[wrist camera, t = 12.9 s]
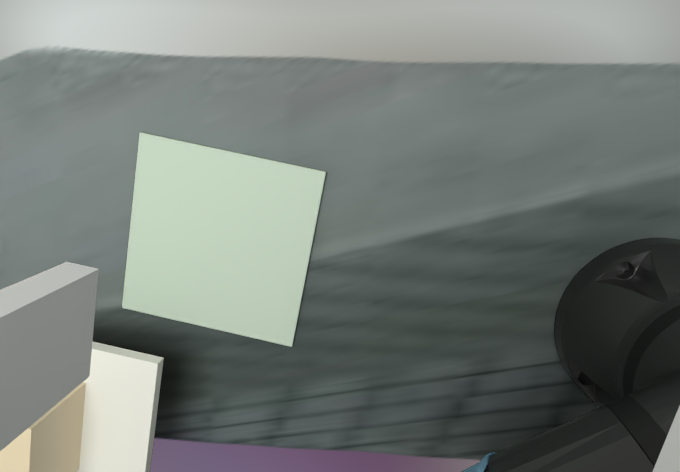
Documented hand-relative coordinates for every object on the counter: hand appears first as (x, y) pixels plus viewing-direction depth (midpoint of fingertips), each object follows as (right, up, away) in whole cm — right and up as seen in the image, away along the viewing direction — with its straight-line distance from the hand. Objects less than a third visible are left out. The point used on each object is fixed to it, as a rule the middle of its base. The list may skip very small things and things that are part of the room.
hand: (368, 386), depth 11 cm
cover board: (-23, -11, +29) cm, 38 cm away
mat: (-11, +3, +32) cm, 34 cm away
